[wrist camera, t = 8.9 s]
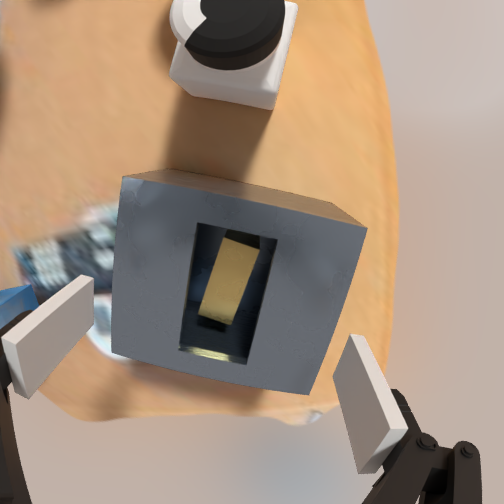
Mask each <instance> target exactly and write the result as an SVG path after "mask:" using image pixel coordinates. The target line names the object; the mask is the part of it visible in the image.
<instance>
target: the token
mask: <svg viewBox="0 0 504 504" xmlns="http://www.w3.org/2000/svg"><path fill="white" fill-rule="evenodd" d="M259 251H260V235H255V234H251V233H246V232H241V231H236V230H232V229H227V231H226V234H225V236H224V238H223V241H222V244H221V246H220V249H219V252H218V255H217V258H216V261H215V264H214V267H213V270H212V273H211V276H210V279H209V282H208V285H207V288H206V291H205V294H204V297H203V300H202V303H201V306H200V309H199V312H198V314H200V315H202V316H205V317H208V318H211V319H214V320H217V321H220V322H223V323H225V324H228V325H231V323H232V321H233V318H234V316H235V313H236V310H237V308H238V305H239V303H240V300H241V298H242V295H243V292H244V290H245V287H246V285H247V282H248V279H249V277H250V274H251V272H252V269H253V266H254V264H255V261H256V259H257V256H258V253H259Z"/></svg>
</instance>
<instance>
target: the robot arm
mask: <svg viewBox="0 0 504 504" xmlns="http://www.w3.org/2000/svg"><path fill="white" fill-rule="evenodd" d="M93 325H94V278H91V277H88V276H84V275H80V276H79V277H78V278H76V279H75V280H73V281H72V282H71V283H69V284H68V285H67V286H65V287H64V288H63V289H61V290H60V291H59V292H57V293H56V294H55V295H54V296H52V297H51V298H50V299H48V300H47V301H46V302H44V303H43V304H42V305H41V306H39V307H38V308H37V309H36V310H34V311H33V310H27V311H25V312H22V313H20V314H19V315H17V316H16V317H15V318H14V320H13V319H12V320H11V321H10V322H9V323H8V324H6V325H5V326H3V327H2V328H1V329H0V504H32V502H31V499H30V495H29V492H28V489H27V485H26V481H25V478H24V474H23V470H22V466H21V462H20V457H19V453H18V448H17V443H16V438H15V432H14V427H13V420H12V413H11V406H10V398H9V391H8V388H7V387H8V385H9V384H10V383H11V382H12V383H13V387H14V390H15V392H16V393H18V394H19V395H21V396H23V397H25V398H27V399H30V397H31V396H32V395H33V394H34V393H35V391H36V390H37V389H38V388H39V386H40V385H41V384H42V383H43V382H44V381H45V379H46V378H47V377H48V376H49V375H50V373H51V372H52V371H53V370H54V369H55V368H56V366H57V365H58V364H59V363H60V362H61V361H62V359H63V358H64V357H65V356H66V355H67V354H68V353H69V351H70V350H71V349H72V348H73V347H74V346H75V345H76V343H77V342H78V341H79V340H80V339H81V338H82V337H83V336H84V335H85V333H86V332H87V331H88V330H89V329H90V328H91V327H92V326H93ZM333 380H334V383H335V387H336V391H337V394H338V398H339V401H340V405H341V408H342V412H343V416H344V420H345V424H346V428H347V431H348V435H349V439H350V443H351V447H352V450H353V455H354V459H355V463H356V466H357V471H358V474H368V473H376V472H377V470H378V469H379V468H380V466H381V465H383V469H384V473H383V474H382V475H381V476H380V478H379V479H378V480H377V481H376V482H375V484H374V485H373V488H372V490H371V491H370V493H369V494H368V496H367V497H366V498H365V500H364V501H363V503H362V504H415V503H416V501H417V499H418V497H419V495H420V498H419V503H418V504H482V482H481V465H480V454H479V451H478V449H477V448H476V446H474V445H473V444H472V443H469V442H467V441H461V442H458V443H457V444H456V445H455V446H454V447H453V449H450V448H445V447H440V446H439V445H438V443H437V441H436V440H435V439H434V438H433V437H432V436H430V435H429V434H426V433H422V432H421V430H420V428H419V426H418V424H417V421H416V420H415V417H414V415H413V413H412V412H411V409H410V408H409V406H408V403H407V401H406V399H405V397H404V396H403V395H402V394H401V393H400V392H399V391H398V390H397V389H390V388H389V386H388V384H387V382H386V380H385V378H384V376H383V373H382V371H381V369H380V367H379V365H378V363H377V361H376V359H375V357H374V355H373V353H372V351H371V349H370V347H369V345H368V343H367V341H366V339H365V338H364V336H361V335H355V334H350V335H349V338H348V340H347V343H346V345H345V348H344V350H343V353H342V355H341V358H340V360H339V362H338V365H337V367H336V370H335V372H334V374H333Z"/></svg>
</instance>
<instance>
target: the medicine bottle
mask: <svg viewBox="0 0 504 504" xmlns="http://www.w3.org/2000/svg"><path fill="white" fill-rule="evenodd" d="M297 12H298V6H297V4H295V3H292V2H288V1H284V0H174V1H173V3H172V6H171V10H170V25H171V28H172V31H173V33H174V35H175V37H176V38H177V39H178V43H177V46H176V50H175V53H174V56H173V60H172V64H171V67H170V71H169V77H170V78H171V79H172V80H173V81H175V82H176V83H177V84H178V85H180V86H181V87H182V88H183V89H184V90H186V91H187V92H188V93H189V94H190V95H192V96H196V97H203V98H209V99H215V100H221V101H227V102H232V103H237V104H243V105H248V106H253V107H257V108H262V109H267V110H272V109H274V107H275V103H276V99H277V95H278V91H279V86H280V82H281V78H282V74H283V70H284V65H285V61H286V57H287V53H288V49H289V45H290V41H291V36H292V32H293V28H294V24H295V20H296V16H297Z"/></svg>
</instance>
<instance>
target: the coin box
mask: <svg viewBox="0 0 504 504" xmlns="http://www.w3.org/2000/svg"><path fill="white" fill-rule="evenodd" d="M227 229H232V230H236V231H241V232H246V233H251V234H255V235H260V251H259V253H258V256H257V259H256V261H255V264H254V266H253V269H252V272H251V274H250V277H249V279H248V282H247V285H246V287H245V290H244V292H243V295H242V298H241V300H240V303H239V305H238V308H237V310H236V313H235V316H234V318H233V321H232V323H231V325H228V324H225V323H223V322H220V321H217V320H214V319H211V318H208V317H205V316H202V315H200V314H198V312H199V309H200V306H201V303H202V300H203V297H204V294H205V291H206V288H207V285H208V282H209V279H210V276H211V273H212V270H213V267H214V264H215V261H216V258H217V255H218V252H219V249H220V246H221V244H222V241H223V238H224V236H225V234H226V231H227ZM366 232H367V227H365V226H364V225H362V224H361V223H360V222H358V221H357V220H355V219H354V218H353V217H351V216H350V215H348V214H347V213H345V212H344V211H343V210H341V209H340V208H338V207H337V206H335V205H334V204H332V203H330V202H326V201H322V200H318V199H314V198H310V197H305V196H301V195H297V194H293V193H289V192H284V191H280V190H275V189H271V188H266V187H262V186H257V185H252V184H248V183H243V182H238V181H233V180H228V179H223V178H218V177H213V176H208V175H203V174H197V173H192V172H187V171H181V170H175V169H165V170H158V171H152V172H145V173H139V174H133V175H127V176H123V178H122V185H121V192H120V200H119V208H118V217H117V227H116V237H115V250H114V264H113V282H112V312H111V350H112V353H115V354H118V355H121V356H125V357H128V358H131V359H135V360H138V361H142V362H145V363H149V364H152V365H156V366H160V367H164V368H167V369H171V370H175V371H179V372H183V373H188V374H192V375H196V376H200V377H205V378H209V379H214V380H219V381H224V382H229V383H234V384H239V385H244V386H250V387H256V388H262V389H268V390H274V391H281V392H287V393H295V394H302V395H309V394H310V391H311V389H312V386H313V384H314V382H315V379H316V377H317V374H318V372H319V369H320V367H321V364H322V362H323V359H324V357H325V354H326V352H327V349H328V346H329V344H330V341H331V338H332V336H333V333H334V330H335V328H336V325H337V322H338V319H339V316H340V314H341V311H342V308H343V305H344V302H345V299H346V296H347V293H348V290H349V287H350V284H351V281H352V278H353V275H354V272H355V269H356V266H357V262H358V259H359V256H360V252H361V249H362V246H363V242H364V239H365V236H366Z"/></svg>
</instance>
